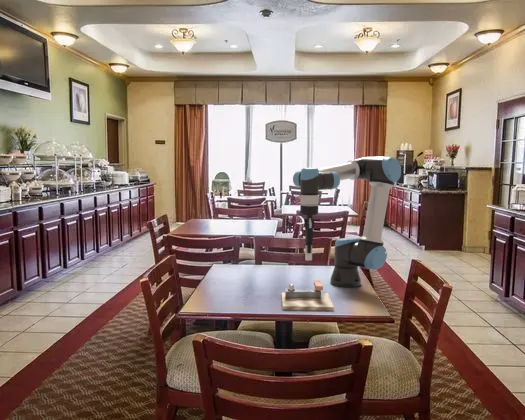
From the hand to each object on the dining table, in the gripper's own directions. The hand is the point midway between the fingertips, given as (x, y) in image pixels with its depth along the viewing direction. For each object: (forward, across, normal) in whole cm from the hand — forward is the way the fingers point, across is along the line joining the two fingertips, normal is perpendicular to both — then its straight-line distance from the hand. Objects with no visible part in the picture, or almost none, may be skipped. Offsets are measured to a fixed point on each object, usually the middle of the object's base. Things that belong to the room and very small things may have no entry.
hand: (308, 259), depth 197 cm
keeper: (+18, -6, +5) cm, 20 cm away
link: (+18, -5, -2) cm, 19 cm away
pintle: (+18, -5, -7) cm, 20 cm away
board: (+19, -2, -1) cm, 20 cm away
